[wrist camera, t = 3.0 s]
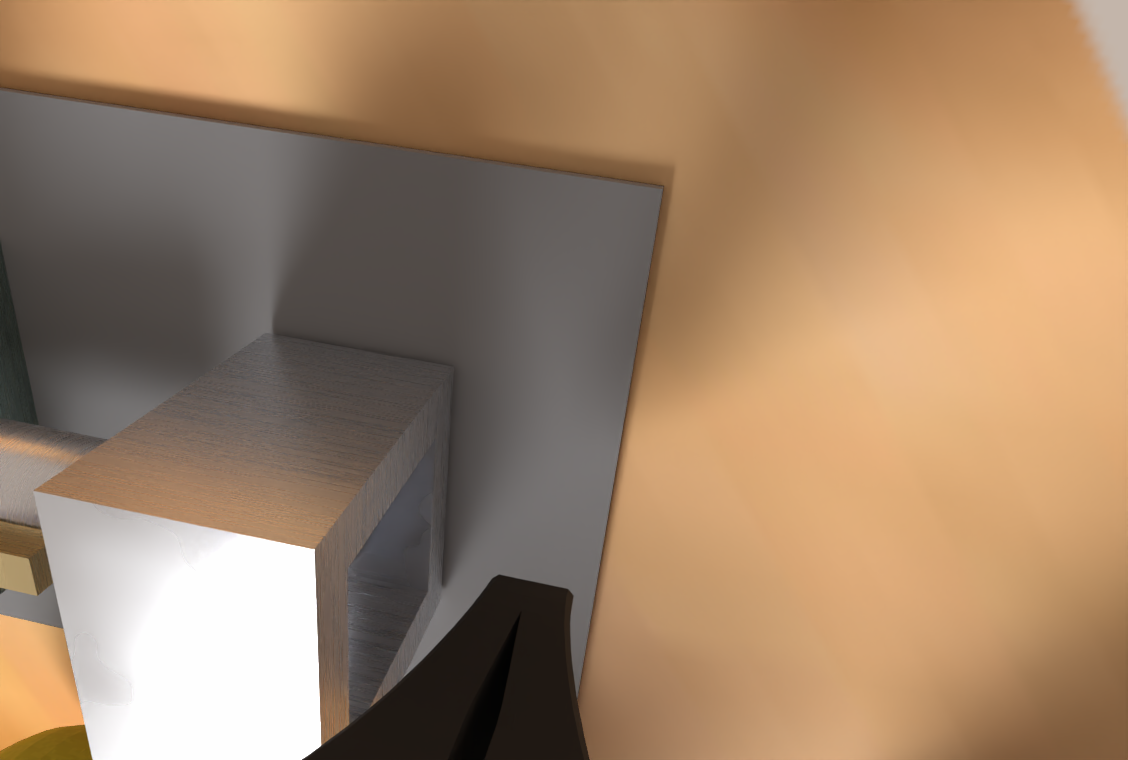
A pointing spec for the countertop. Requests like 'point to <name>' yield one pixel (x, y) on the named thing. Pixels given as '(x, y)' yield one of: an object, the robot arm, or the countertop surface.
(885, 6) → the countertop surface
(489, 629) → the robot arm
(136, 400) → the mat
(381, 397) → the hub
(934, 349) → the countertop surface
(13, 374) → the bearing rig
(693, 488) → the countertop surface
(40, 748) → the lemon
